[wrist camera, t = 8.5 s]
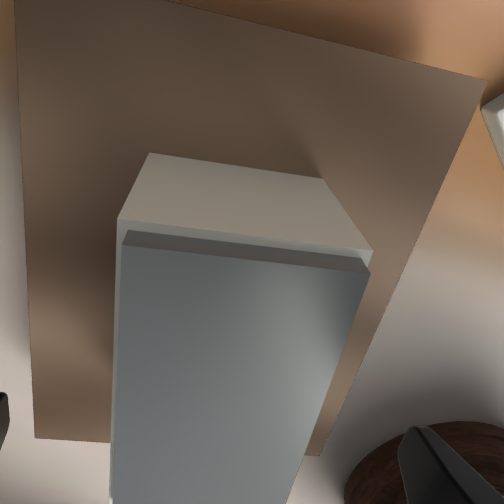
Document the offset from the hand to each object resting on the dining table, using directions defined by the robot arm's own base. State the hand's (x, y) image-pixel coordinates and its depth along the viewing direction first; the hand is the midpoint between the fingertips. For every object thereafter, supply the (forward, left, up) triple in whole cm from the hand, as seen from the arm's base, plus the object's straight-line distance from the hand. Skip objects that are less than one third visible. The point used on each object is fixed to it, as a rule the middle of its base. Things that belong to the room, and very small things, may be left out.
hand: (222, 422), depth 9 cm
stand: (0, 0, -8) cm, 8 cm away
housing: (0, 0, -5) cm, 5 cm away
